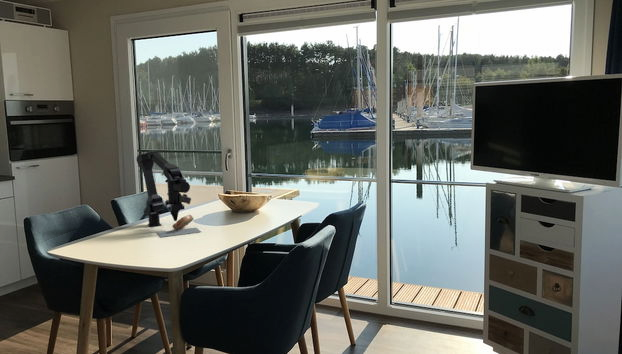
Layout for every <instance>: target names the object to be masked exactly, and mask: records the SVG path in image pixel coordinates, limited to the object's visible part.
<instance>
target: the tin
mask: <svg viewBox="0 0 622 354" xmlns="http://www.w3.org/2000/svg"><path fill="white" fill-rule="evenodd" d="M194 218H195V217H193V216H192V215H191V214H188V215H185V216H182V217H181V218H179V220H178V219H177V221H175V223H174V224H172V228H173V230H175V231H176V230H180V229H184V228H186V226H188V225H189V224H190V223H191V222H192V221H194Z"/></svg>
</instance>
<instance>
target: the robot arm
mask: <svg viewBox="0 0 622 354" xmlns="http://www.w3.org/2000/svg"><path fill="white" fill-rule="evenodd" d="M136 162H137V164H138V167H139V169H140V170H141V171H142V173H143V179H144V183H145V188H146V194H147V200H146V206H145V209H144V210H143V215H144V216H147V217H148V218H147V219H148V223H147V226H148V227H149V228H151V227H159V226H162V224H161V221H160V214H163V213H164V207H165V206H166V207H167V206H169V207H167V209H168V211H169V213H170V215H171V216H172V219H173V221H174V222H177V221H178V216H179V212H180V211H181V210H185V205H184V204H183V203H185V204H187V205H190V204H191V201H192V198H191V197H190V196H188V194H187V193H188V192H189V191H190V189H191V185H190V183H189V182H188V181H187V179H185V175H183V173H182V171H181V169H180V167H178V165H176V164H172V163H170V162H169V161H168V160H167V159H165V158H164V157H163V156H162V155H161V154H160V152H159V151H157V150H152V151H151V150H150V151H147V152H145V153H140V154H137V156H136ZM154 165H156V166H158V167H159V168H160V169H161V170H162V174H163V175H164V176H165V178H166V179H165V181H164V182H165V183H167V197H168V199H166V200H165V201H164V200H163V197H162V196H160V195H159V194H158V190H157V187H156V181H155V177H154V171H153V167H154ZM164 203H165V204H164Z"/></svg>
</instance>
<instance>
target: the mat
mask: <svg viewBox="0 0 622 354" xmlns="http://www.w3.org/2000/svg"><path fill="white" fill-rule="evenodd" d="M200 232H201V233H202V231H201V230H200V229H199V228H198V227H191V228H190V227H189V228H181V229H178V230H176V231H175V230H174V229H173V230H167V231H159V232H156V234H157V235H158V236H159V237H160V238H168V237H176V236H183V235H184V236H185V235H191V234H199V233H200Z"/></svg>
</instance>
